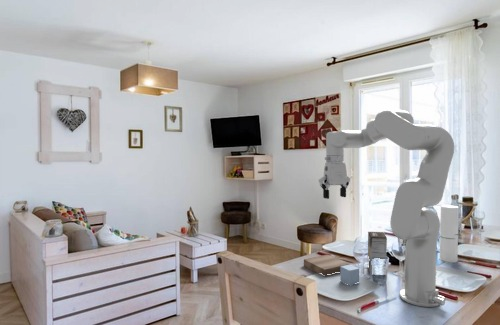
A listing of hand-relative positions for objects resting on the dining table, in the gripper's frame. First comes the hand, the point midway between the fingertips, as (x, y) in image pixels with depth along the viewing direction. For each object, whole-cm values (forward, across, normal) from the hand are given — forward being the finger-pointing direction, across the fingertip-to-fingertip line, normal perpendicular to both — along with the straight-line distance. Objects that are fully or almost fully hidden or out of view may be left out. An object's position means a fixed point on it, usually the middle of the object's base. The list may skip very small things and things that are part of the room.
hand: (334, 197), depth 151 cm
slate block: (+30, -9, -19) cm, 37 cm away
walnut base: (+30, -7, -3) cm, 31 cm away
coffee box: (+30, +9, -16) cm, 35 cm away
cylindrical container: (+30, +50, -20) cm, 62 cm away
